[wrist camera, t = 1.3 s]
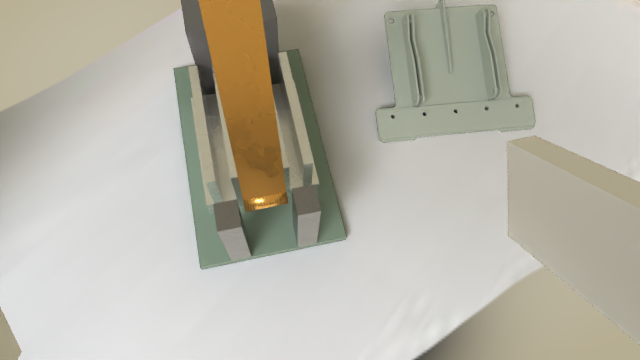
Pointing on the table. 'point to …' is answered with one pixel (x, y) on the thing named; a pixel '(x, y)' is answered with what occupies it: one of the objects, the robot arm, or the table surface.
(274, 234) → the grey green railed plate
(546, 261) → the robot arm
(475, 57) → the metal bracket
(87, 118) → the table surface
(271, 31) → the slotted lug
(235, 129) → the strap
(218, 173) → the heat sink
